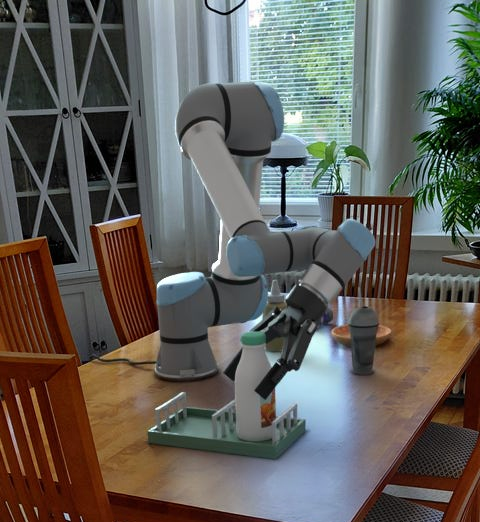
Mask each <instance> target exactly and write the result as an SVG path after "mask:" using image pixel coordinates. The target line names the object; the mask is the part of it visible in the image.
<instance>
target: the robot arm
mask: <svg viewBox="0 0 480 522" xmlns="http://www.w3.org/2000/svg"><path fill="white" fill-rule="evenodd" d="M284 128H285V113H284V107H283V102H282V100H281V98H280V94H279V93H278V91H277V90H276V88H275V87H274V86H273V85H272V84H270V83H269V82H260V81H253V80H249V81H238V82H237V81H236V82H219V83H213V82H211V83H203V84H200V85H198V86H196V87H194V88H192V89H191V90H190V91H189V92H188V93H187V94H186V95H185V96H184V97H183V99H182V100H181V102H180V104H179V106H178V109H177V111H176V115H175V121H174V131H175V132H174V134H175V138H176V141H177V144H178V147H179V149H180V151H181V153H182V154H183V156H184V158H186V159H188V160H189V161H191V162H192V164H193V166H194V168H195V170H196V172H197V174H198V176H199V178H200V181H201V182H202V184H203V187H204V188H205V190H206V193H207V195H208V197H209V199H210V200H211V203H212V205H213V206H214V209H215V210H216V211H215V212H216V213H217V215H218V217H219V219H220V232H219V233H220V234H219V251H218V260H217V261H215V262H214V263H213V264H212V266H211V275H210V276H208V277H206V275H205V274H204V273H203V272H201V271H189V272H181V273H177V274H173V275H170V276H167V277H165V278H163V279H162V280H160V281H159V282H158V283H157V285H156V300H155V304H156V306H157V307H156V309H157V317H158V329H159V330H158V331H159V349H158V352H157V357H156V360H146V361H133V360H131V359H129V358H125V357H119V358H112V359H111V358H110V359H109V358H108V359H107V358H106V359H105V358H101V357H99V356H98V355H96V354H91V355H90V356H89V357H88V358H87V360H92V359H93V358H94V359H96V360H97V361H99V362H102V363H114V362H128V363H129V364H130V365H134V366H141V365H142V366H143V365H154V371H155V372H154V373H155V376H156V377H157V378H159V379H161V380H165V381H169V382H190V381H199V380H203V379H207V378H210V377H212V376H214V375H215V374H217V373H218V362H217V360H216V357H215V354H214V351H213V349H212V347H211V344H210V342H209V341H210V340H209V331H208V330H209V328H211V327H219V326H226V325H233V324H244V323H247V322H251V321H254V320H257V319H259V318H260V317H261V316H263V312H264V310H265V308H266V305H267V300H268V294H269V289H268V288H267V287H268V282H267V279H266V278H265V275H271V274H278V273H279V274H280V273H287V272H296V271H304V270H305V271H304V273H303V274H302V275H301V277H300V278H299V279H298V284H295V285H294V286H293V287H292V288H291V290H290V291H289V292H288V294H287V295H286V297H284V302H286V303H287V307H286V308H285V309H284V310H283V311H281V310H280V309H279V308H278V307H277V306H276V307H275V308H274V309H273V310H272V311H271V312H270V313H269V315H267V316H266V317H265V318H264V319H263V320H262V319H261V320H260V321H259V322H258V323H257V324H255V325H254V326H253V327H252V328H251V329H250V330H248V332H263V333H265V335H266V342H265V344H267V343H269V342H270V341H272V340H273V339H275V338H281V337H283V338H285V339H284V344H283V349H282V351H281V353H280V358H278V359H276V361H275V363H274V364H273V365H272V366H271V367H272V368H271V369H270V370H269V372H268V373H267V374H266V376H265V377H264V378H263V380H262V381H261V382H260V384H259V385H258V386H257V387H256V389H255V390H254V391H255V392H256V393H257V394H258V395H260V396H261V397H262V398H263V399H265V400H266V399H267V398H268V396H269V395H270V394H271V392H272V391H273V390H274V388H275V389H276V387H277V386H278V385H279V384H280V383H281V382H282V380H283V379H284V377H285V376H286V375H287V373H289V372H292V371H295V372H298V371H299V370H300V368H301V367H302V364H303V362H304V359H305V356H306V354H307V351H308V349H309V346H310V344H311V341H312V339H313V337H314V336H315V334H316V332H317V331H318V329H319V326H318V327H317V326H316V325H315V323H317V322H318V321H319V319H320V318H321V317H322V315H323V314H324V313H325V312H326V306H328V307H329V306H331V305H332V303H333V302H334V300H336V299H337V298H338V296H339V294H340V293H341V292H342V290H343V289H344V288H345V287H346V285H347V284H348V283H349V282H350V280H351V279H352V278H353V276H354V275H355V274H356V272H357V271H358V270H359V268H360V267H361V266H362V265H363V264H364V262H365V261H367V259H368V257H369V255H370V253H371V252H372V250H373V249H374V248H375V246H376V238H375V236H374V234H373V233H372V232H371V231H370V230H369V228H367V227H366V225H364V224H363V223H361V222H360V221H358V220H356V219H354V218H347V219H345V220H344V221H343V222H342V223H341V224H340V225H338V226H337V229H336V230H332V229H331V230H330V229H327V228H322V227H319V226H317V225H309V226H308V225H303V226H301V227H298V228H297V229H293V230H287V231H285V230H284V231H275V232H273V231H271V230H270V228H269V227H268V225H267V222H266V221H265V219H264V217H263V215H262V213H261V211H260V205H261V204H260V202H261V190H262V179H263V177H262V176H263V166H264V160H265V159H266V158H267V157H268V156H269V155H270V154H271V152H272V143H274V142H277V141H278V140H279V139H281V137H282V135H283V132H284ZM273 319H274V320H273ZM240 342H241V338H240ZM242 351H243V347H242V346H241V348H240V350H239V351H237V353H236V355H235V356H234V357H233V359H232V360H231V361H230V363H229V364H228V365H227V367H226V368H225V369H224V371H223V372H222V374H224V375H225V376H226V377H227V378H228V379H229V380H230V381H232V382H235V374H236V370H237V367H238V364H239V362H240V359H241V356H242ZM100 358H101V359H100Z"/></svg>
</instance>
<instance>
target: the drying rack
mask: <svg viewBox="0 0 480 522" xmlns="http://www.w3.org/2000/svg"><path fill="white" fill-rule="evenodd" d="M186 394H187V393H186V392H184V391H183V392H180V393H178V394H177V395H176V396H174V397H172V398H171V399H169V400H168V401H166V402H164V403H163V404H161V405H159V406H158V407H156V408H155V410H154V412H155V418H156V425H154V426H153V427H151V428H150V429H149V430H147V440H148V444H153V445H154V444H155V445H161V446H162V445H163V446H169V447H177V448H185V449H192V450H200V451H206V452H207V451H208V452H209V451H210V452H215V453H216V452H217V453H223V454H232V455H240V456H247V457H254V458H255V457H256V458H262V459H271V460H276V459H278V457H279V456H281V455H282V454H283V453H284V452H285V451H286V450H287V449H288V448H289V447H290V446H292V444H294V442H296V441H297V440H298V439H299V438H300V437H301V436H302V435H303V434H305V432H306V430H307V428H306V426H307V425H306V423H307V422H306V418H299V417H298V403H297V402H295V403H293V404H292V405H290V406H289V407H288V408H287V409H286V410H284V411H283V412H282V413H281V414H279V415H276V419H275V420H274V421H273V422H272V438H271V439H269V440H265V441H246V440H242V439H240V438H239V437H238V435H237V428H236V411H234V410H233V407H234V406H235V398H234V399H233V400H231V401H230V402H228V403H227V404H226V405H224V406H223V407H222V408H220V409H213V408H204V407H196V406H195V407H193V406H187V398H186ZM180 400H181V407H182V408H181V409H179V407H178V401H180ZM172 405H173V414H171V415H170V406H172ZM162 411H164V415H165V419H164V420H162V421H161V412H162ZM291 413H292V417H291Z"/></svg>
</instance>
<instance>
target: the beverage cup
mask: <svg viewBox="0 0 480 522" xmlns="http://www.w3.org/2000/svg"><path fill="white" fill-rule="evenodd" d="M357 290H358V291H357V292H358V300H359V306H358V307H356V308H355V309H354V310H353V311H352V312H351V313H350V316H349V317H348V323H347V324H348V326H349V332H350V338H351V346H350V351H351V352H350V353H351V365H352V373H353V374H356V375H360V376H361V375H363V376H364V375H370V374H372V373H373V366H374V361H375V360H374V359H375V352H376V351H375V350H376V345H375V344H376V335H377V331H378V325H380V322H379V317H378V314H377V312H376V311H375V310H374V309H373V308H372V307H369V306H367V305H366V306H365V305H364V306H363V302H362V301H363V300H362V292H361V286H359V287H357Z"/></svg>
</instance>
